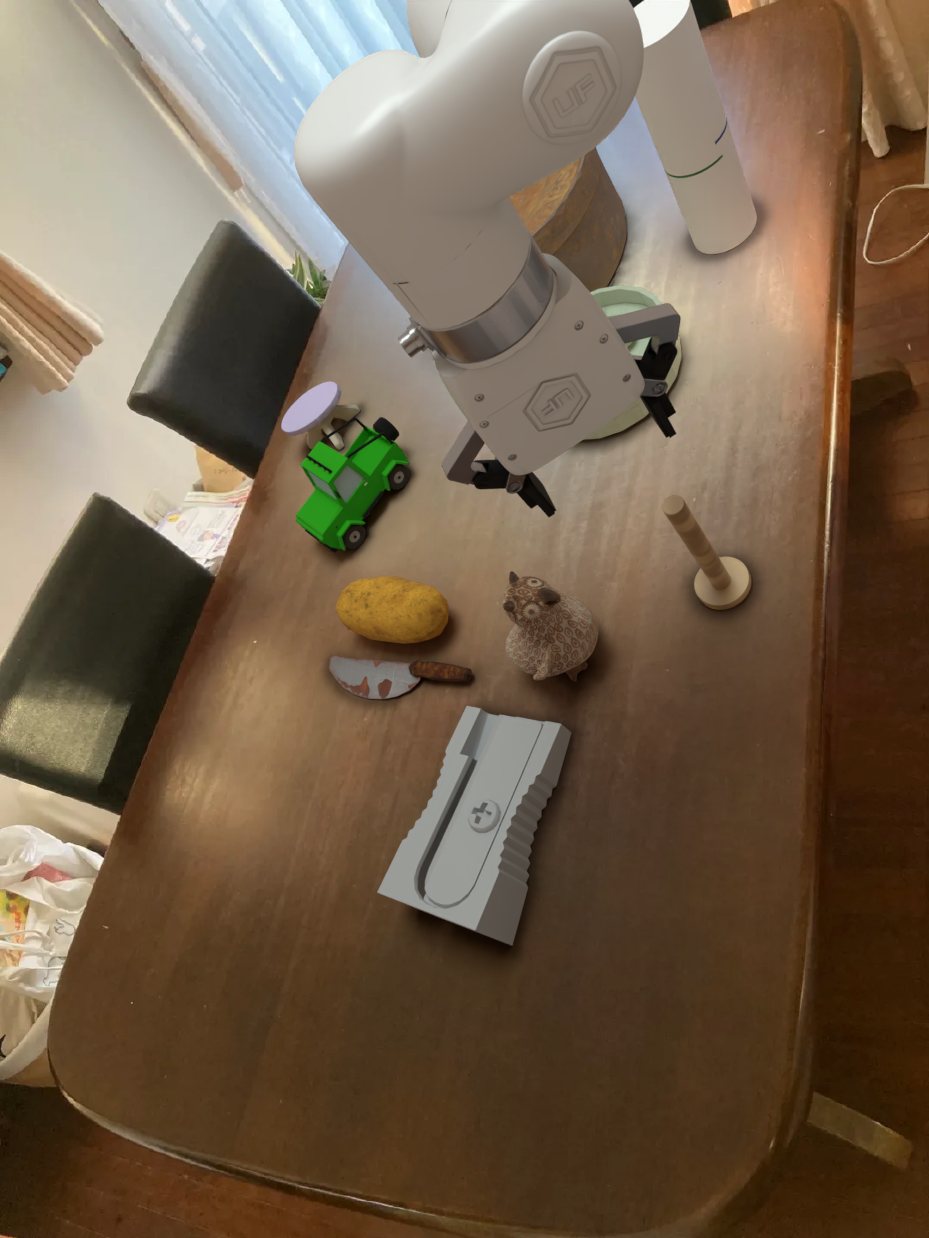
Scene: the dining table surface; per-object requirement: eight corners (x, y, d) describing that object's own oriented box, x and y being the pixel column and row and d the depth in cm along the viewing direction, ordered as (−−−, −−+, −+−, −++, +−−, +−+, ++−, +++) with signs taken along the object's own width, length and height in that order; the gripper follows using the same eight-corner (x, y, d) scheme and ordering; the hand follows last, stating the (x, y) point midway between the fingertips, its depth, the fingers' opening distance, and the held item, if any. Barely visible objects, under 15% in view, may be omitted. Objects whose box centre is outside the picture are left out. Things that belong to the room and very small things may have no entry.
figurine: (617, 694, 77) (549, 633, 66) (526, 704, 82) (447, 650, 71) (617, 607, 81) (552, 536, 70) (529, 622, 86) (455, 558, 74)
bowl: (647, 290, 96) (632, 259, 92) (708, 382, 86) (694, 351, 82) (523, 374, 101) (503, 348, 97) (567, 469, 92) (548, 444, 88)
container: (496, 397, 101) (432, 311, 90) (414, 306, 119) (352, 224, 108) (677, 239, 97) (634, 129, 86) (564, 169, 115) (516, 70, 104)
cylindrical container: (769, 206, 92) (705, -14, 72) (734, 258, 91) (660, 50, 72) (715, 201, 96) (641, -8, 77) (681, 250, 96) (599, 52, 77)
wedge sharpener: (417, 908, 79) (374, 899, 74) (478, 713, 85) (442, 691, 79) (512, 945, 73) (473, 938, 68) (571, 731, 78) (539, 708, 73)
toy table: (309, 468, 116) (281, 446, 112) (306, 423, 121) (280, 399, 116) (365, 437, 112) (338, 412, 108) (360, 391, 117) (334, 366, 113)
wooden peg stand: (737, 551, 77) (688, 466, 65) (761, 592, 74) (715, 510, 63) (688, 578, 78) (633, 498, 67) (710, 619, 76) (656, 544, 64)
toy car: (315, 538, 109) (263, 500, 102) (393, 435, 110) (346, 389, 102) (349, 564, 104) (296, 526, 96) (430, 455, 104) (384, 408, 96)
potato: (376, 588, 100) (340, 562, 94) (472, 599, 91) (438, 571, 86) (356, 642, 98) (317, 619, 92) (451, 659, 89) (415, 635, 84)
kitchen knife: (316, 690, 97) (326, 649, 98) (326, 692, 98) (336, 652, 99) (457, 711, 84) (467, 664, 85) (467, 714, 86) (476, 668, 87)
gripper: (376, 431, 45) (519, 567, 58) (651, 226, 40) (739, 425, 54) (348, 352, 50) (487, 496, 63) (593, 160, 45) (688, 359, 58)
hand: (603, 463), depth 58 cm, fingers open, 9 cm apart
